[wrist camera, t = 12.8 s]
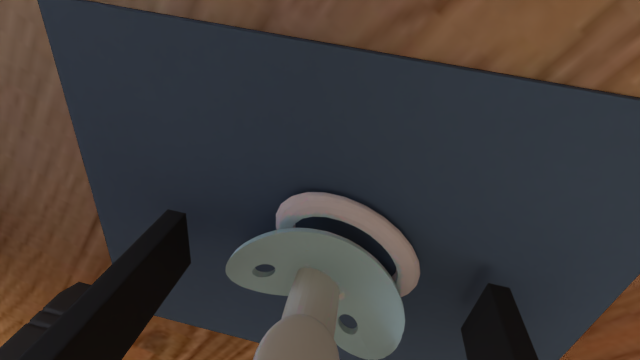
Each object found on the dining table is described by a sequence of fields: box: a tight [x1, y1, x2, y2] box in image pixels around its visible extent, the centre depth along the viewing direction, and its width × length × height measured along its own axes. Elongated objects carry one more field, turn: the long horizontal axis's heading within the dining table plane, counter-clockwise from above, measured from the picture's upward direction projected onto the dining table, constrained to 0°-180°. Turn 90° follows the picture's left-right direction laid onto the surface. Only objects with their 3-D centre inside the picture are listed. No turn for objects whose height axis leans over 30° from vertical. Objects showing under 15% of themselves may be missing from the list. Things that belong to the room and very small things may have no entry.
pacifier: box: [225, 192, 420, 360], centre depth 11 cm, size 7×6×6 cm
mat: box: [38, 0, 640, 360], centre depth 14 cm, size 22×16×1 cm
